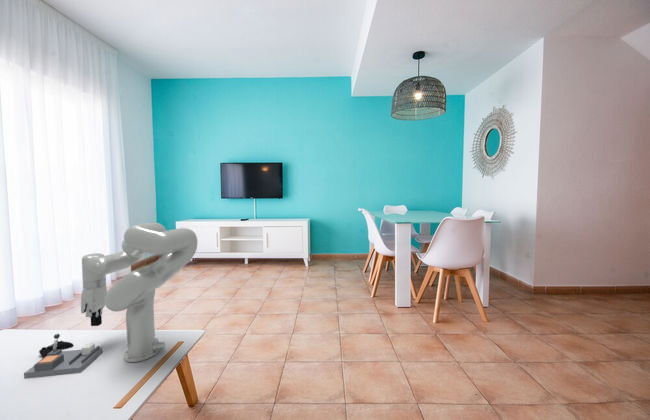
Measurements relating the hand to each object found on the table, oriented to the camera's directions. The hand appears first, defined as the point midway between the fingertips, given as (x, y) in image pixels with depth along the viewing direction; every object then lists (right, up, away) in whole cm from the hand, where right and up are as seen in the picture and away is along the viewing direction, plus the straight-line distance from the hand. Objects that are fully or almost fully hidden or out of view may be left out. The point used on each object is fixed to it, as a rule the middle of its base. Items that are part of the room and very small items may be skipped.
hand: (96, 324), depth 117 cm
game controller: (-16, -11, -1) cm, 20 cm away
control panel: (-3, -11, -10) cm, 15 cm away
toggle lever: (-11, -7, -7) cm, 15 cm away
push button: (-6, -8, -14) cm, 18 cm away
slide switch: (+2, -9, -6) cm, 11 cm away
